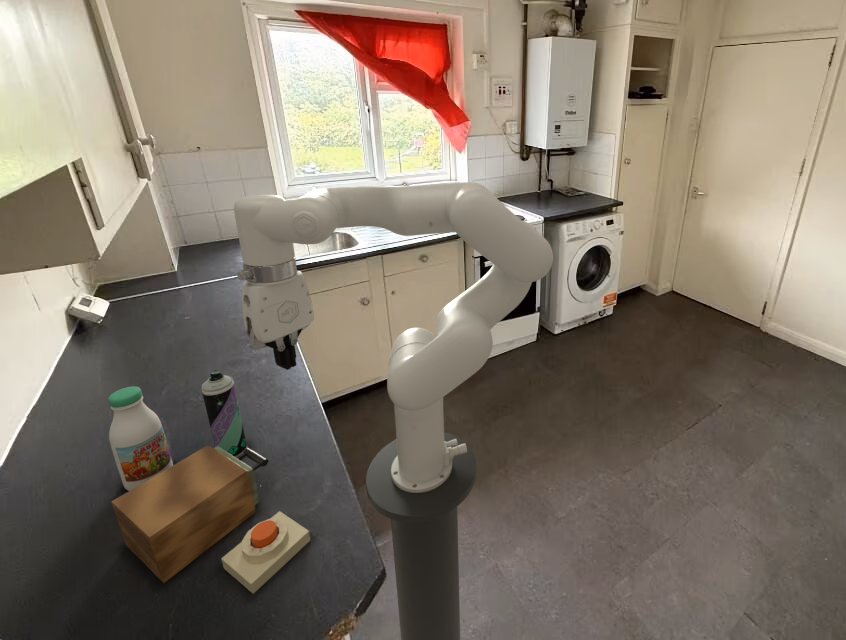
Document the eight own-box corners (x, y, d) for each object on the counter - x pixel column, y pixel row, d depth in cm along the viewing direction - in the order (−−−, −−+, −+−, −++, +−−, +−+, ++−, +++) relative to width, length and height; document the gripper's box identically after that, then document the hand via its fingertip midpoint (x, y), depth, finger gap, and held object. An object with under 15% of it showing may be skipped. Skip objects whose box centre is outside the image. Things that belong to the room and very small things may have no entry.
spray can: (211, 457, 90) (191, 376, 84) (234, 440, 95) (217, 362, 89) (230, 464, 88) (212, 382, 82) (253, 446, 93) (237, 367, 87)
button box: (281, 520, 76) (278, 502, 75) (310, 540, 73) (307, 522, 72) (223, 568, 68) (218, 550, 67) (253, 594, 64) (248, 575, 63)
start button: (269, 524, 72) (267, 516, 71) (282, 534, 70) (280, 526, 70) (247, 541, 69) (245, 533, 68) (261, 552, 67) (259, 544, 66)
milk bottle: (113, 493, 81) (83, 406, 75) (145, 462, 88) (120, 380, 82) (154, 493, 81) (128, 405, 75) (183, 462, 89) (161, 380, 82)
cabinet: (217, 484, 84) (208, 444, 81) (256, 511, 78) (247, 470, 75) (126, 545, 71) (110, 501, 68) (163, 583, 66) (149, 537, 63)
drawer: (246, 463, 88) (239, 432, 85) (280, 485, 82) (274, 453, 80) (142, 532, 73) (131, 496, 70) (177, 564, 68) (166, 527, 65)
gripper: (239, 288, 62) (258, 394, 68) (324, 261, 75) (335, 352, 80) (210, 279, 66) (231, 380, 71) (297, 254, 78) (309, 342, 84)
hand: (286, 365), depth 76 cm, fingers closed
